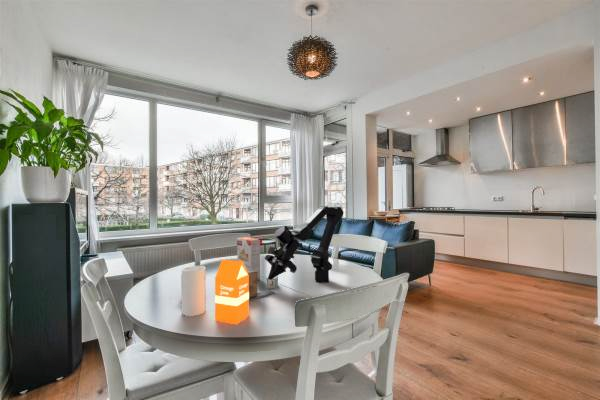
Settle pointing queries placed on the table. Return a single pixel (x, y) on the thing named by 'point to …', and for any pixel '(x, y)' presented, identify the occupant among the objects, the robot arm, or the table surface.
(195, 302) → the cup
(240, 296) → the orange juice
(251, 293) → the brown wooden block
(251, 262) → the cracker box
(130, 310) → the table surface
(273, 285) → the letter cube
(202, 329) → the table surface
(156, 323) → the table surface
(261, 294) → the rail
